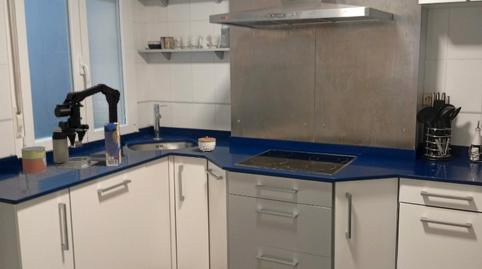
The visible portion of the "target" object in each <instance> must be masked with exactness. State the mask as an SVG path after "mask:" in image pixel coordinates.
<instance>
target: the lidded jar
mask: <svg viewBox="0 0 482 269" xmlns="http://www.w3.org/2000/svg"><path fill="white" fill-rule="evenodd" d="M197 140H198V148H199V149H200V151H201V150H202V151H211V150H212V151H214V150H215V148H216V138H214V137H209V136H205V137H201V138H198V139H197ZM202 151H201V152H202Z"/></svg>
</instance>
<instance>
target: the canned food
mask: <svg viewBox="0 0 482 269" xmlns="http://www.w3.org/2000/svg"><path fill="white" fill-rule="evenodd" d="M20 150H21V157H22V158H21V162H22V170H23V171H22V173H23V174H26V175H36V174H42V173H46V172H47V171H48V169H47V168H48V167H47V157H46V156H47V155H46V153H47V152H46V147H45V146H41V145H40V146H35V145H34V146H27V147H23V148H21V149H20Z"/></svg>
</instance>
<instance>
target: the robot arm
mask: <svg viewBox="0 0 482 269" xmlns="http://www.w3.org/2000/svg"><path fill="white" fill-rule="evenodd" d="M98 93H101V94H102V95H104V96H105V102H107V105H108V123H119V121H118V119H119V118H118V116H119V115H118V113H119V112H118V104H119V101H120V98H121V92H120V91H119V89H116V88H114V87H111V86H108V85H107V84H105V83H98V84H96V85H93V86H91V87H88V88H85V89H82V90H79V91H78V90H77V91H71V92H68V93H67V94H66V97H65V99H64V101H63V102H62V104H56V105H55V108H54V110H53V114H54V116H55V117H56V118H57V119H58V118H67V119H66V120H67V121H63V120H61V121H58V123H57V124H58V126H57V127H58V128H59V129H61V133H62V134H64V135H66V136H67V139H68V141H69V143H71V146H74V143H75V141H76V138H77V141H82V142H83V140H84V138H85V135H86V133H87V132H88V130H89V129H90V125H89V124H87V123H82V121H81V120H83V117H81V108H85V107H84V106H85V105H83V104H82V103H81V102H83V101H84V100H85V99H86V98H88V97H92V96H94V95H97V94H98ZM124 147H126V142H125V141H124V140H123V139H122V135H121V133H120V149H121V158H123V157H124V156H125V154H124Z"/></svg>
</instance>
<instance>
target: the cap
mask: <svg viewBox="0 0 482 269" xmlns="http://www.w3.org/2000/svg"><path fill="white" fill-rule="evenodd" d="M69 143H70V142H69ZM81 147H83V140H82V141H78V140H75V143H74V146H71V143H70V148H81Z"/></svg>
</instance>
